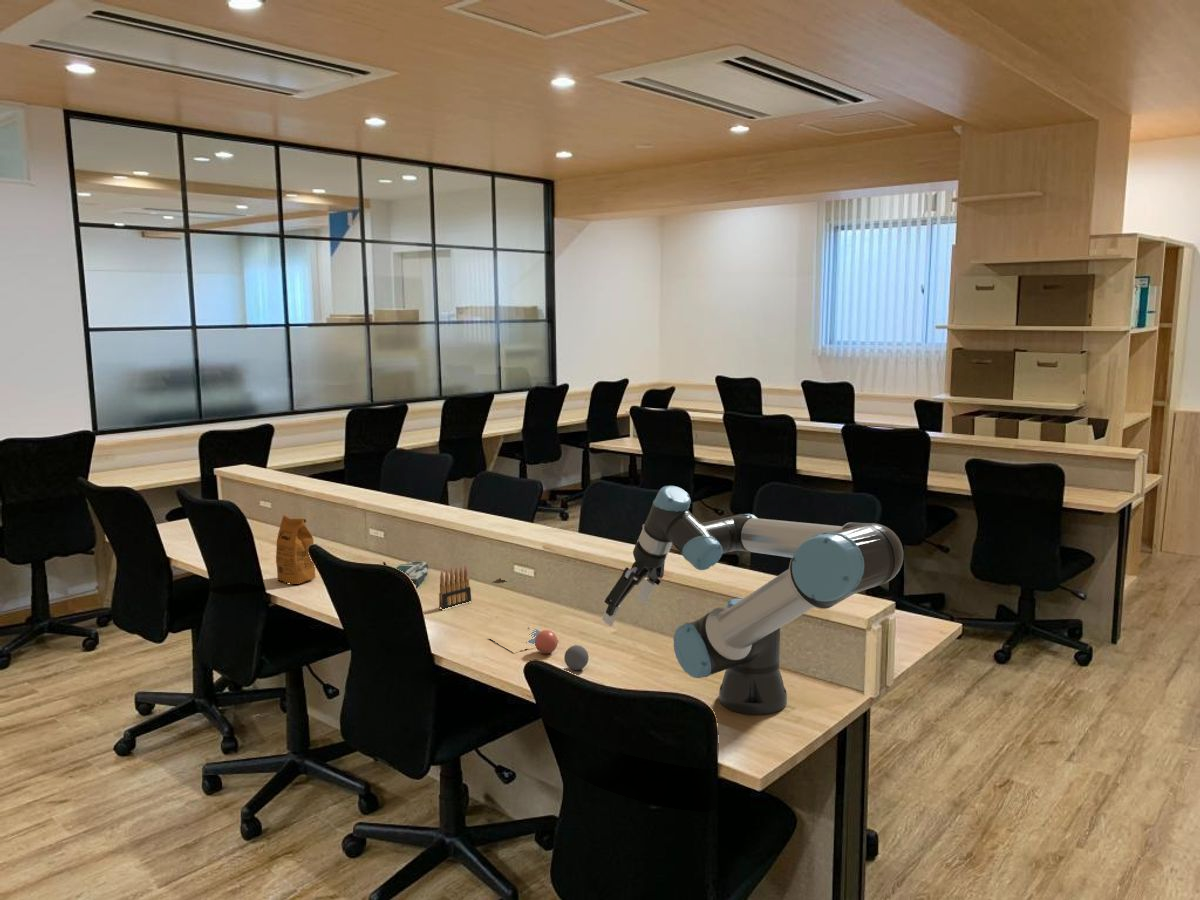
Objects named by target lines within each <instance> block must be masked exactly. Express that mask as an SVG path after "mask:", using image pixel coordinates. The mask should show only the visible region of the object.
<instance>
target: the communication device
mask: <svg viewBox="0 0 1200 900" xmlns="http://www.w3.org/2000/svg"><path fill="white" fill-rule="evenodd" d="M382 564H383V566H384V565H387V563H386V562H385V561H383V562H382ZM395 568H397V569H399V570H401V571H403V572H404V573H406V574H407V575H408V576H409V577H410V578H411V580H412V581H413V583H414V584H415V585H416V588H418V587H419V586H421V585H422V584H423V583H424V582H425V578H426V577H427V576H428V571H429V563H427V561H421V560H420V561H418V560H417V561H416V560H414V561H409V562H407V563H400V564H398V565H397V566H396V567H395ZM423 581H424V582H423ZM422 582H423V583H422ZM421 583H422V584H421ZM420 584H421V585H420Z"/></svg>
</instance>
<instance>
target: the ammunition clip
mask: <svg viewBox="0 0 1200 900" xmlns="http://www.w3.org/2000/svg"><path fill="white" fill-rule="evenodd" d="M440 571H441V572H440V578H439V593H438V594H439V595H438V598H439V604H438V605H439V608H440V607H441V608H442V609H445V608H448V607H452V606H455V605H458V604H462V603H466V602H469V601H471V602H472V592H471V591H472V590H471V586H470V577H469V570H468V566H467V564H465V566H464V568H463V566H462V565H461V566H460V567H459V569H458V567H455V570H454V569H453V568H451V569H450V571H448V569H446V570H445V574H444V571H443V570H440ZM439 608H438V609H439Z"/></svg>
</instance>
